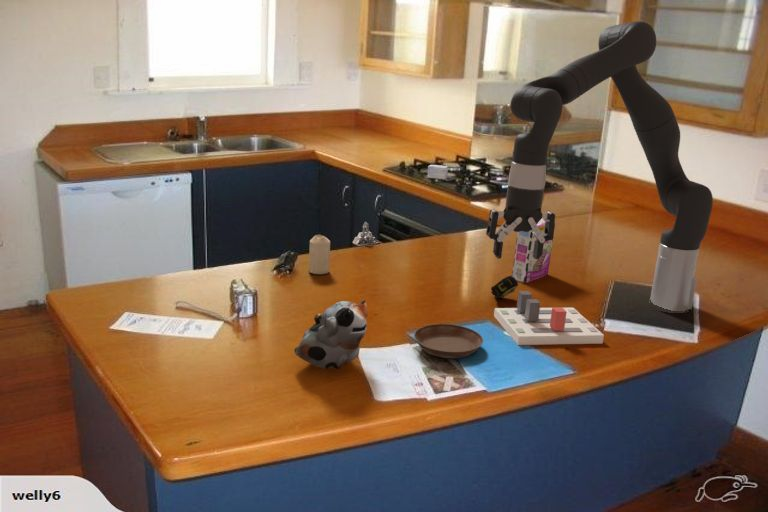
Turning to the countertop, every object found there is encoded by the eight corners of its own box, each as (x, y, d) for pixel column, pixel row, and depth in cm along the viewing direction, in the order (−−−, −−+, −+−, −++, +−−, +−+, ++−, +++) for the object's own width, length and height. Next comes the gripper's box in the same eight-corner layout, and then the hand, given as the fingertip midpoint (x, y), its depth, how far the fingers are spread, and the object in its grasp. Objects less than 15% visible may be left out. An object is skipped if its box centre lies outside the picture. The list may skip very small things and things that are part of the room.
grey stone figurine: (368, 238, 241) (369, 215, 239) (383, 246, 234) (384, 222, 232) (343, 241, 237) (344, 218, 234) (358, 249, 230) (359, 224, 227)
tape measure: (499, 303, 194) (491, 290, 195) (521, 288, 194) (513, 276, 195) (496, 300, 188) (488, 287, 189) (519, 285, 187) (511, 272, 188)
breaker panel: (572, 315, 186) (575, 288, 184) (602, 343, 170) (607, 314, 168) (493, 315, 182) (496, 288, 180) (517, 344, 166) (521, 315, 164)
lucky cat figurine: (329, 335, 164) (342, 277, 159) (373, 360, 158) (388, 301, 153) (282, 355, 152) (295, 294, 147) (328, 383, 146) (343, 321, 141)
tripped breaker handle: (559, 326, 172) (562, 307, 170) (564, 330, 169) (566, 311, 168) (549, 326, 171) (552, 307, 170) (553, 330, 169) (556, 311, 168)
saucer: (412, 360, 156) (413, 348, 155) (413, 332, 170) (414, 321, 169) (484, 365, 156) (485, 353, 155) (479, 337, 170) (480, 326, 169)
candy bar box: (525, 286, 205) (532, 227, 200) (510, 281, 208) (517, 223, 204) (549, 278, 213) (556, 221, 208) (534, 273, 216) (541, 217, 211)
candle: (332, 273, 206) (334, 237, 203) (314, 275, 203) (315, 239, 200) (323, 267, 210) (324, 232, 207) (305, 269, 207) (306, 234, 204)
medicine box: (446, 186, 327) (448, 166, 324) (444, 188, 323) (446, 167, 320) (428, 184, 329) (430, 164, 326) (426, 185, 325) (428, 165, 322)
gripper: (552, 181, 164) (542, 253, 168) (488, 179, 161) (480, 252, 166) (565, 189, 157) (554, 264, 161) (499, 186, 154) (490, 262, 159)
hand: (516, 257), depth 164 cm, fingers open, 8 cm apart
